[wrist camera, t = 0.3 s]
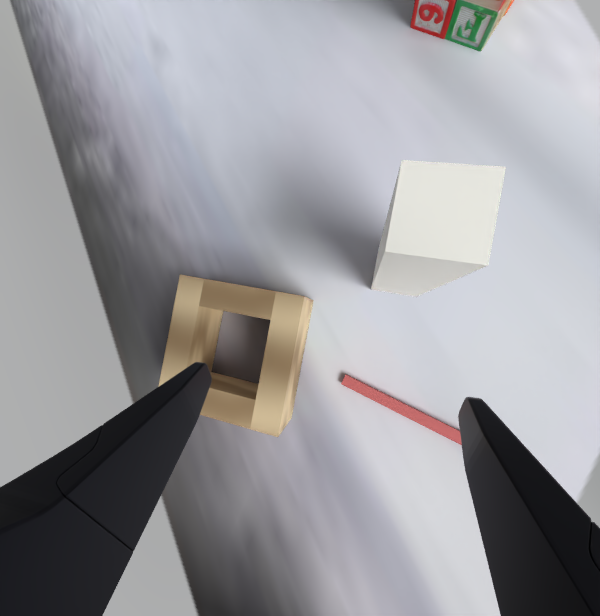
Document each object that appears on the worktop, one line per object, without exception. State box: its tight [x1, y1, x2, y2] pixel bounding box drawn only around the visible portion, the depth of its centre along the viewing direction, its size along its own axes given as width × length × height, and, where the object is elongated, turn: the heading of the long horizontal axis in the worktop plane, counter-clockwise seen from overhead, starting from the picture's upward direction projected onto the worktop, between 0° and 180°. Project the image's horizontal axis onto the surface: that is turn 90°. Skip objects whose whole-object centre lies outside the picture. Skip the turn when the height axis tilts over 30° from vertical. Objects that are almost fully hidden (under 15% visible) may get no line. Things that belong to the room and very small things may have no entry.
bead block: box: [158, 275, 313, 437], centre depth 23 cm, size 10×10×4 cm
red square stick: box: [341, 375, 462, 445], centre depth 21 cm, size 14×1×1 cm, turn 65°
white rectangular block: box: [371, 160, 506, 297], centre depth 16 cm, size 4×4×12 cm
